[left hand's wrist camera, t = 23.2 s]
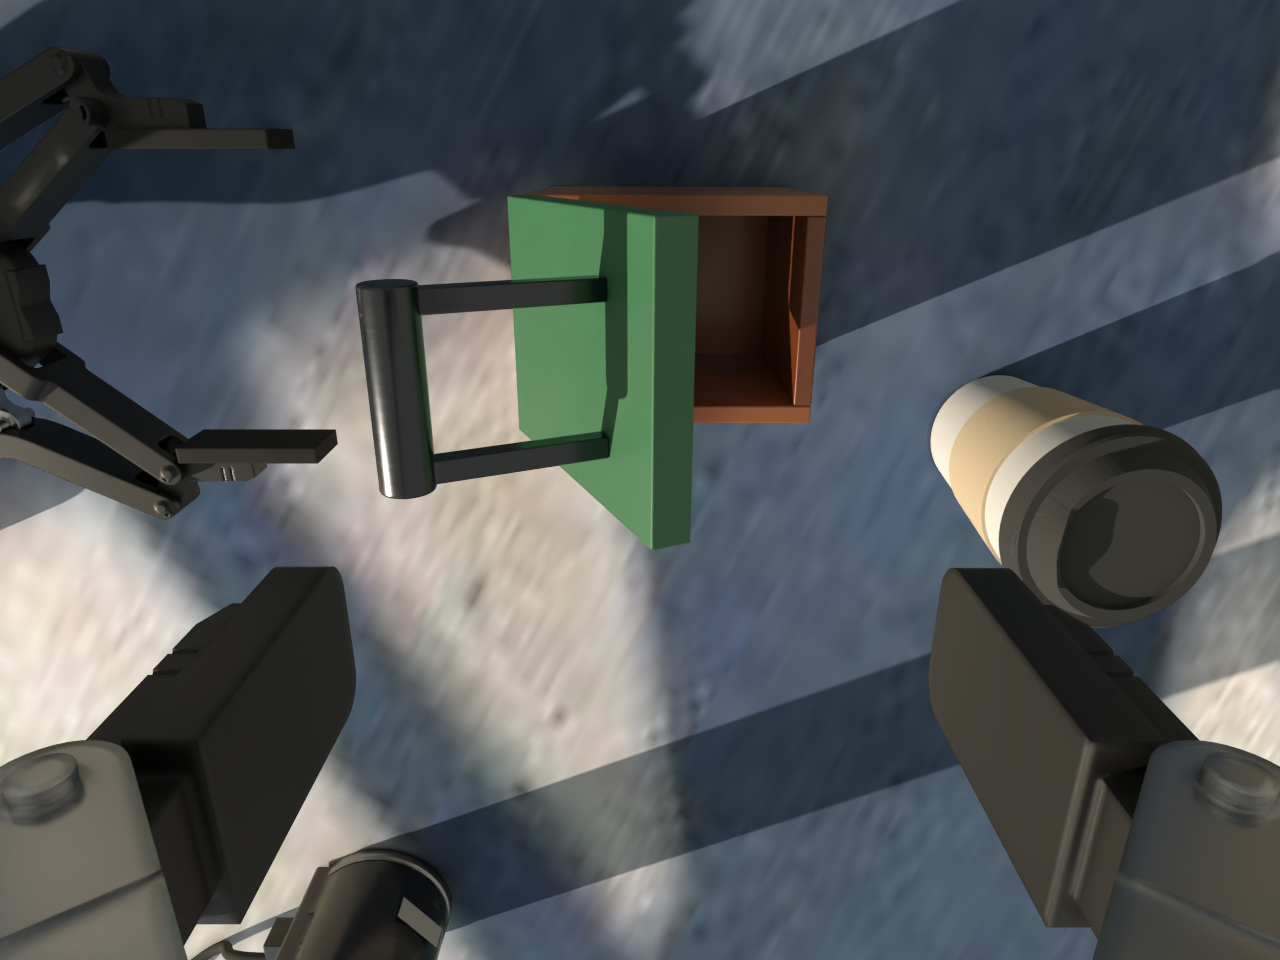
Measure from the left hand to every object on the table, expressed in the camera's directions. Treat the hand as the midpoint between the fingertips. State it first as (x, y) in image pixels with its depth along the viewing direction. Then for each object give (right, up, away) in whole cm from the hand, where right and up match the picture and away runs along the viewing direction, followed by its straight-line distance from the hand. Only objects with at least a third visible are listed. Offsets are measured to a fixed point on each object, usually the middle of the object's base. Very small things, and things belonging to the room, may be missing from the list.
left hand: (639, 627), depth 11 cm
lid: (-1, +7, +17) cm, 18 cm away
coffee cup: (+20, +5, +36) cm, 41 cm away
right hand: (-15, +10, +26) cm, 32 cm away
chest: (+1, +13, +33) cm, 35 cm away
